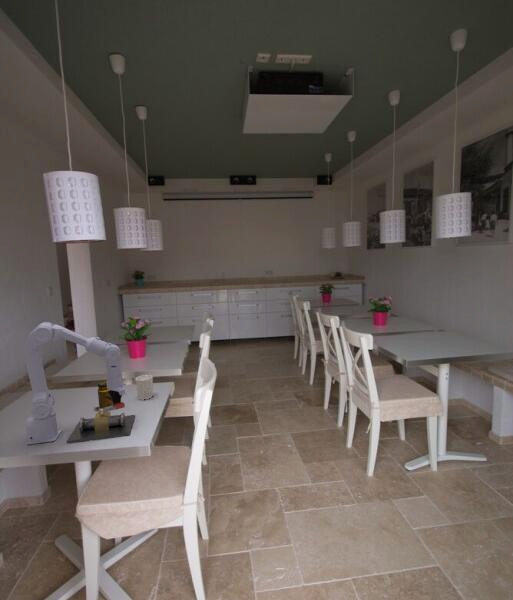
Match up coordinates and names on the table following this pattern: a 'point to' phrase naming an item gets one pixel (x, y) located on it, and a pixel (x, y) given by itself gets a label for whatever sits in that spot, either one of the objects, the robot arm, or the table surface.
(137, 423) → the table surface
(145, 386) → the white cup
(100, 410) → the valve lever
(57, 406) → the table surface
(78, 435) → the valve body
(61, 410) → the table surface
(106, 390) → the condiment
